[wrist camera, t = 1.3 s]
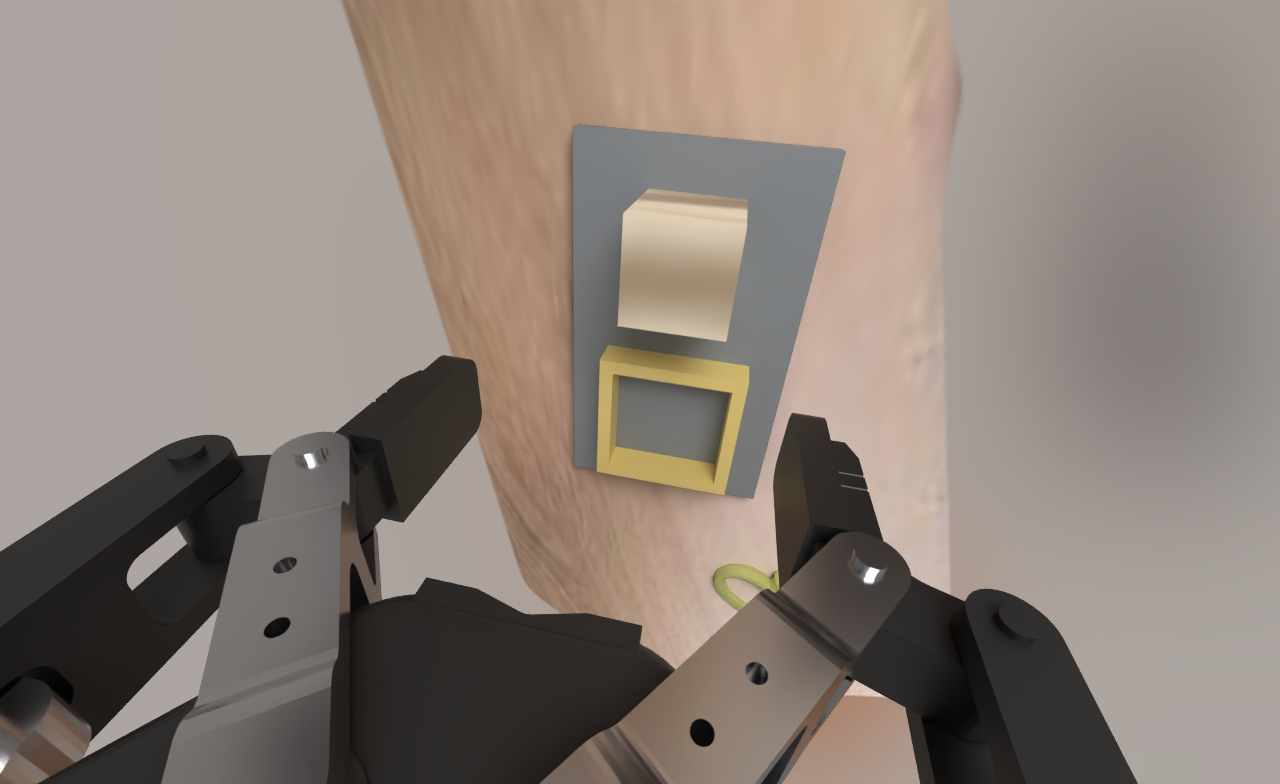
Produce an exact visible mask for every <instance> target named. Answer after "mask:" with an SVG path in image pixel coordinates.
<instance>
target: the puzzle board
mask: <svg viewBox="0 0 1280 784" xmlns="http://www.w3.org/2000/svg"><path fill="white" fill-rule="evenodd" d="M845 153H846V151H844V150H843V149H834V148H824V147H813V146H802V145H792V144H781V143H771V142H760V141H749V140H739V139H728V138H718V137H707V136H696V135H686V134H675V133H665V132H654V131H643V130H633V129H622V128H611V127H601V126H590V125H580V124H578V125H573V297H574V466H577V467H582V468H588V469H593V470H597V472H601V473H606V474H612V475H617V476H622V477H628V478H633V479H639V480H644V481H650V482H655V483H660V484H666V485H671V486H677V487H682V488H688V489H693V490H698V491H704V492H709V493H715V494H720V495H725V494H729V495H735V496H740V497H745V498H751V499H753V497H754V494H755V490H756V486H757V482H758V479H759V475H760V471H761V467H762V464H763V460H764V456H765V452H766V449H767V445H768V441H769V437H770V434H771V430H772V426H773V422H774V419H775V415H776V411H777V408H778V404H779V400H780V396H781V393H782V389H783V385H784V381H785V378H786V374H787V370H788V366H789V363H790V359H791V355H792V351H793V348H794V344H795V340H796V336H797V333H798V329H799V325H800V321H801V318H802V314H803V310H804V306H805V303H806V299H807V295H808V291H809V288H810V284H811V280H812V276H813V273H814V269H815V265H816V261H817V258H818V254H819V250H820V246H821V243H822V239H823V235H824V231H825V228H826V224H827V220H828V216H829V213H830V209H831V205H832V201H833V198H834V194H835V190H836V186H837V183H838V179H839V175H840V171H841V168H842V164H843V160H844V156H845ZM648 189H657V190H667V191H676V192H685V193H694V194H703V195H713V196H722V197H731V198H740V199H748V210H747V231H746V237H745V242H744V248H743V253H742V259H741V264H740V270H739V275H738V281H737V286H736V292H735V297H734V303H733V308H732V314H731V319H730V324H729V330H728V335H727V341H726V342H724V341H717V340H710V339H703V338H696V337H689V336H682V335H676V334H669V333H662V332H655V331H648V330H641V329H634V328H627V327H621V326H618V308H619V287H620V266H621V246H622V225H623V213H624V212H625V211H626V210H627V209H628V208H629V207H630V206H631V205H632V204H633V203H634V202H635V201H636V200H637V199H638V198H639V197H641V196H642V195H643V194H644V193H645V192H646V191H647V190H648Z"/></svg>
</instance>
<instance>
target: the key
mask: <svg viewBox="0 0 1280 784" xmlns="http://www.w3.org/2000/svg"><path fill="white" fill-rule="evenodd" d="M726 578H740V579H743V580H746V581H748V582H751V583H752V584H754V585H756V586H758V587H759V588H761V589H762V590H764V589H770V590H771V591H772V592H774V593H775V592H777V591H778V590H779V575H778V571H776V572H775V573H774V577H772V578H770V577H769V576H767V575H766V574H764V573H763V572H761V571H759V570H757V569H755V568H753V567H750V566H747V565H744V564H728V565H725V566H722V567H720V568H719V569H717V571H716V572H715V574H714V585H715V588H716V590H717V591H718V593H719V594H720V595H721V596H722V597H723V598H724V599H725V600H726V601H727V602H728V603H729V604H730V605H732V606H733V607H734V608H736V609H737V610H739V611H740V610H741V609H742V608H743V607H744V606H745V605H746V604H747V603H745V602H743V601H742V600H741V599H739V598H738V597H737V596H736V595H734V594H733V593H732V591H731V590H730V589H729V588H728V586H727V585H726V582H725V580H724V579H726Z"/></svg>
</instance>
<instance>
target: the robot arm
mask: <svg viewBox="0 0 1280 784" xmlns="http://www.w3.org/2000/svg"><path fill="white" fill-rule="evenodd" d="M481 416H482V408H481V400H480V392H479V383H478V375H477V368H476V364H475V362H474V361H473V360H471V359H465V358H459V357H452V356H446V355H443V356H440V357H439V358H438V359H436V360H435V361H434V362H433V363H432V364H431V365H429V367H427V368H426V369H425V370H423V371H421V370H420V371H418V372H416V373H413V374H411V375H409V376H407V377H404V378H402V379H400V380H399V381H398V382H397V383H395V384H394V385H393V386H392V387H391V388H389V389H388V390H387V393H383V394H382V395H381V396H380V397H378V398H377V399H376V402H372V403H371V404H370V405H369V406H367V407H366V408H365V409H364V410H363V411H361V412H360V413H359V414H357V415H356V416H355V417H354V418H353V419H351V420H350V421H349V422H348V423H346V425H344V426H343V427H341V428H340V429H339V430H338V431H337V432H335V433H333V432H317V433H311V434H306V435H303V436H300V437H297V438H295V439H292V440H290V441H288V442H286V443H285V444H284V445H282V446H280V447H279V448H278V449H277V450H276V451H275V452H274V453H273V454H272V455H254V456H253V455H252V456H238V455H237V453H236V450H235V448H234V446H233V444H232V442H231V441H230V440H229V439H228V438H226V437H224V436H219V435H202V436H195V437H190V438H186V439H182V440H179V441H176V442H174V443H171V444H169V445H167V446H165V447H163V448H161V449H159V450H157V451H156V452H154V453H153V454H151V455H150V456H148V457H146V458H145V459H143V460H142V461H140V462H139V463H137V464H135V465H134V466H132V467H131V468H129V469H128V470H126V471H125V472H123V473H122V474H120V475H118V476H117V477H115V478H114V479H112V480H111V481H109V482H108V483H106V484H105V485H103V486H101V487H100V488H98V489H97V490H95V491H94V492H92V493H91V494H89V495H87V496H86V497H84V498H83V499H81V500H80V501H78V502H77V503H75V504H74V505H72V506H70V507H69V508H67V509H66V510H64V511H63V512H61V513H60V514H58V515H57V516H55V517H53V518H52V519H50V520H49V521H47V522H46V523H44V524H43V525H41V526H39V527H38V528H36V529H35V530H33V531H32V532H30V533H29V534H27V535H25V536H24V537H22V538H21V539H19V540H18V541H16V542H15V543H13V544H12V545H10V546H9V547H7V548H5V549H4V550H2V551H1V552H0V784H782V783H783V781H784V780H785V779H786V777H787V775H788V774H789V773H790V771H791V769H792V768H793V767H794V765H795V763H796V762H797V760H798V759H799V757H800V756H801V754H802V753H803V751H804V749H805V748H806V747H807V745H808V744H809V743H810V741H811V740H812V738H813V737H814V736H815V734H816V733H817V731H818V730H819V729H820V727H821V726H822V725H823V723H824V722H825V721H826V719H827V718H828V716H829V715H830V714H831V712H832V711H833V709H834V708H835V707H836V705H837V704H838V703H839V701H840V700H841V699H842V697H843V696H844V694H845V693H846V692H847V690H848V689H849V688H850V686H851V685H852V683H853V682H854V681H855V680H856V681H858V682H860V683H862V684H863V685H865V686H867V687H869V688H871V689H873V690H874V691H876V692H878V693H880V694H882V695H884V696H885V697H887V698H889V699H891V700H893V701H895V702H897V703H898V704H900V705H902V706H904V707H905V708H906V713H907V718H908V723H909V728H910V733H911V739H912V744H913V749H914V754H915V759H916V764H917V769H918V774H919V779H920V784H1138V783H1137V781H1136V779H1135V777H1134V775H1133V773H1132V771H1131V770H1130V768H1129V766H1128V764H1127V762H1126V760H1125V758H1124V756H1123V754H1122V752H1121V750H1120V748H1119V746H1118V744H1117V742H1116V740H1115V738H1114V736H1113V735H1112V732H1111V731H1110V729H1109V727H1108V725H1107V723H1106V721H1105V719H1104V717H1103V715H1102V713H1101V711H1100V709H1099V707H1098V705H1097V703H1096V701H1095V700H1094V697H1093V695H1092V694H1091V692H1090V690H1089V688H1088V686H1087V684H1086V682H1085V680H1084V678H1083V676H1082V674H1081V672H1080V670H1079V668H1078V666H1077V664H1076V662H1075V660H1074V658H1073V656H1072V655H1071V653H1070V651H1069V649H1068V647H1067V645H1066V643H1065V641H1064V639H1063V637H1062V636H1061V634H1060V633H1059V631H1058V630H1057V628H1056V627H1055V626H1054V625H1053V624H1052V623H1051V622H1050V621H1049V620H1048V618H1047V617H1045V616H1044V615H1043V614H1042V613H1041V612H1040V611H1038V610H1037V609H1036V608H1034V607H1033V606H1031V605H1030V604H1028V603H1027V602H1025V601H1024V600H1022V599H1020V598H1018V597H1016V596H1013V595H1011V594H1009V593H1006V592H1003V591H999V590H994V589H980V590H976V591H973V592H972V593H971V594H970V595H969V596H968V597H967V599H966V600H965V601H962V600H960V599H958V598H956V597H954V596H951V595H949V594H947V593H945V592H942V591H940V590H938V589H936V588H933V587H931V586H929V585H927V584H925V583H923V582H921V581H919V580H918V579H916V578H914V577H913V576H911V572H910V569H909V567H908V565H907V563H906V561H905V560H904V558H903V557H902V556H901V555H900V554H899V553H898V552H897V551H896V550H895V549H894V548H893V547H892V546H890V545H889V544H887V543H886V542H884V541H883V538H882V535H881V531H880V528H879V525H878V521H877V518H876V515H875V511H874V508H873V505H872V501H871V498H870V495H869V492H867V489H868V488H867V485H866V481H865V478H863V471H862V468H861V465H860V461H859V458H858V457H857V456H856V455H855V454H854V452H853V451H852V450H851V449H850V448H849V447H848V446H847V444H846V443H844V442H838V441H832V440H831V439H830V435H829V431H828V427H827V422H826V419H825V418H821V417H815V416H809V415H803V414H797V413H792V414H791V416H790V418H789V421H788V425H787V428H786V431H785V435H784V438H783V442H782V445H781V449H780V452H779V456H778V459H777V463H776V467H775V473H774V481H773V492H774V509H775V526H776V542H777V559H778V575H779V590H778V591H777V592H775V593H774V592H772V591H771V590H770V589H764V590H763V591H761V592H760V593H758V594H757V595H756V596H755V597H754V598H753V599H752V600H751V601H749V602H748V603H747V604H746V605H745V606H744V607H743V608H742V609H741V610H740V611H739V612H738V613H737V614H735V615H734V616H733V617H732V618H731V619H730V620H729V621H728V622H727V623H726V624H725V625H724V626H723V627H721V628H720V629H719V630H718V631H717V632H716V633H715V634H714V635H713V636H712V637H711V638H710V639H709V640H707V641H706V642H705V643H704V644H703V645H702V646H701V647H700V648H699V649H698V650H697V651H696V652H694V653H693V654H692V655H691V656H690V657H689V658H688V659H687V660H686V661H685V662H684V663H683V664H682V665H680V666H679V667H678V668H677V669H676V670H675V669H674V668H673V667H672V666H671V665H670V664H669V663H668V662H666V661H665V660H664V659H663V658H662V657H660V656H659V655H657V654H656V653H655V652H653V651H652V650H650V649H648V648H646V647H645V646H643V645H641V644H640V640H641V632H642V626H641V625H637V624H632V623H628V622H623V621H619V620H615V619H610V618H606V617H601V616H597V615H592V614H588V613H579V614H535V615H531V614H524V613H522V612H519V611H517V610H516V609H514V608H512V607H510V606H508V605H506V604H505V603H503V602H501V601H499V600H497V599H495V598H493V597H492V596H490V595H488V594H486V593H484V592H482V591H480V590H479V589H476V588H472V587H467V586H463V585H458V584H454V583H449V582H445V581H440V580H436V579H431V578H426V579H425V580H424V582H423V584H422V585H421V586H420V588H419V589H418V591H417V592H416V594H414V595H404V596H397V597H393V598H389V599H385V600H382V596H381V582H380V565H379V549H378V535H377V531H376V528H375V526H376V525H377V524H378V523H379V521H380V520H381V519H382V518H384V519H388V520H393V521H398V522H404V521H405V520H406V519H407V517H408V516H409V515H410V514H411V512H412V511H413V510H414V509H415V507H416V506H417V505H418V504H419V503H420V501H421V500H422V499H423V498H424V496H425V495H426V494H427V493H428V491H429V490H430V489H431V488H432V486H433V485H434V484H435V483H436V481H437V480H438V479H439V478H440V476H441V475H442V474H443V473H444V471H445V470H446V469H447V468H448V467H449V465H450V464H451V463H452V461H453V460H454V459H455V458H456V457H457V456H458V454H459V453H460V452H461V451H462V449H463V448H464V447H465V446H466V444H467V443H468V442H469V441H470V439H471V438H472V437H473V436H474V434H475V433H476V432H477V430H478V428H479V425H480V422H481ZM175 526H177V528H178V529H179V531H180V533H181V534H182V536H183V538H184V539H185V540H186V542H187V544H186V545H185V546H184V547H183V548H181V549H180V550H179V551H178V552H177V553H176V554H174V555H173V556H172V557H171V558H170V559H169V560H167V561H166V562H165V563H164V564H163V565H162V566H160V567H159V568H158V569H157V570H156V571H155V572H153V573H152V574H151V575H150V576H149V577H148V578H146V579H145V580H144V581H143V582H142V583H141V584H139V585H138V586H137V587H136V588H135V589H134V590H131V589H130V588H129V586H128V584H127V573H128V570H129V568H130V566H131V564H132V563H133V561H134V560H135V559H136V558H137V557H138V556H139V555H140V554H141V553H143V552H144V551H145V550H146V549H148V548H149V547H150V546H151V545H153V544H154V543H155V542H156V541H158V540H159V539H160V538H161V537H163V536H164V535H165V534H166V533H167V532H168V531H170V530H171V529H172V528H174V527H175ZM218 608H219V610H218V614H217V619H216V623H215V627H214V631H213V636H212V640H211V644H210V648H209V653H208V657H207V661H206V665H205V669H204V674H203V678H202V682H201V686H200V690H199V695H198V696H196V697H195V698H193V699H191V700H189V701H187V702H185V703H184V704H182V705H180V706H178V707H176V708H174V709H172V710H171V711H169V712H167V713H165V714H163V715H161V716H160V717H158V718H156V719H154V720H152V721H151V722H149V723H147V724H145V725H143V726H141V727H139V728H138V729H136V730H134V731H132V732H130V733H129V734H127V735H125V736H123V737H121V738H119V739H118V740H116V741H114V742H112V743H110V744H108V745H106V746H105V747H103V748H101V749H100V750H97V751H95V752H94V753H92V754H90V755H88V756H86V757H85V758H83V756H84V755H85V753H86V751H87V749H88V746H89V743H90V741H92V739H93V738H94V737H95V736H96V735H97V734H98V733H99V732H100V731H101V730H102V729H103V728H104V727H105V726H106V725H107V724H108V723H109V722H110V721H111V719H112V718H114V717H115V715H116V714H117V713H118V712H119V711H120V710H121V709H122V708H123V707H124V706H125V705H126V704H127V703H128V702H129V701H130V700H131V699H132V698H133V697H134V696H135V695H136V694H137V692H138V691H139V690H140V689H141V688H142V687H143V686H144V685H145V684H146V683H147V682H148V681H149V680H150V679H151V678H152V677H153V676H154V675H155V674H156V673H157V672H158V670H160V668H161V667H162V666H163V665H164V664H165V663H166V662H167V661H168V660H169V659H170V658H171V657H172V656H173V655H174V654H175V653H176V652H177V651H178V650H179V649H180V648H181V646H183V645H184V644H185V642H186V641H187V640H188V639H189V638H190V637H191V636H192V635H193V634H194V633H195V632H196V631H197V630H198V629H199V628H200V627H201V626H202V625H203V624H204V623H205V622H206V621H207V620H208V618H209V617H210V616H211V615H212V614H213V613H214V612H215V611H216V610H217V609H218ZM82 758H83V759H82Z"/></svg>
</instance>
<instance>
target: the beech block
mask: <svg viewBox="0 0 1280 784" xmlns="http://www.w3.org/2000/svg"><path fill="white" fill-rule="evenodd" d="M747 210H748V199H740V198H731V197H722V196H713V195H703V194H694V193H685V192H676V191H667V190H657V189H648V190H647V191H646V192H645V193H644V194H643V195H642V196H641V197H639V198H638V199H637V200H636V201H635V202H634V203H633V204H632V205H631V206H630V207H629V208H628V209H627V210H626V211H625V212H624V213H623V225H622V246H621V266H620V287H619V308H618V326H621V327H627V328H634V329H641V330H648V331H655V332H662V333H669V334H676V335H682V336H689V337H696V338H703V339H710V340H717V341H724V342H726V341H727V335H728V330H729V324H730V319H731V314H732V308H733V303H734V297H735V292H736V286H737V281H738V275H739V270H740V264H741V259H742V253H743V248H744V242H745V237H746V231H747Z"/></svg>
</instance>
